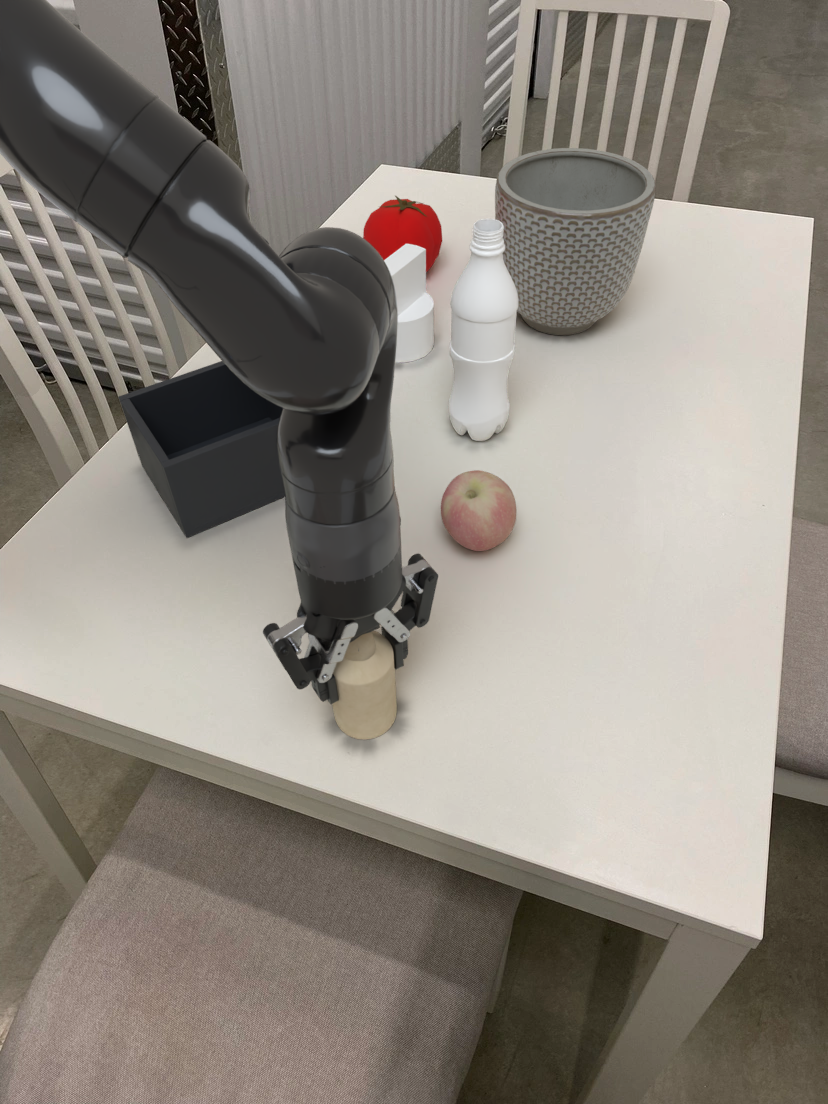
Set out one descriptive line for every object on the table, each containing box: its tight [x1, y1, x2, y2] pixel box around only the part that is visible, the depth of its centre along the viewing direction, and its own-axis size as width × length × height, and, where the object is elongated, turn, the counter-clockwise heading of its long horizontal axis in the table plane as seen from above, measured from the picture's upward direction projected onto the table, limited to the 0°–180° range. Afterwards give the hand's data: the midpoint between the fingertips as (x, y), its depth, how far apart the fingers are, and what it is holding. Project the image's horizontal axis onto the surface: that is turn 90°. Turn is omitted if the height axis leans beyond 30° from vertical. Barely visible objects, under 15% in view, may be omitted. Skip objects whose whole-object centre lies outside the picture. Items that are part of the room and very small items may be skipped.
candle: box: [331, 630, 398, 741], centre depth 68 cm, size 6×6×10 cm
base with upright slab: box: [384, 244, 435, 364], centre depth 106 cm, size 9×9×12 cm
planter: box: [494, 147, 656, 336], centre depth 108 cm, size 20×20×19 cm
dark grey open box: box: [117, 360, 285, 539], centre depth 90 cm, size 17×14×10 cm
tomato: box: [362, 195, 443, 273], centre depth 120 cm, size 12×12×11 cm
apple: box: [440, 469, 517, 552], centre depth 83 cm, size 8×8×8 cm
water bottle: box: [448, 218, 518, 442], centre depth 89 cm, size 7×7×25 cm
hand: (361, 677), depth 68 cm, fingers closed on candle, 5 cm apart
